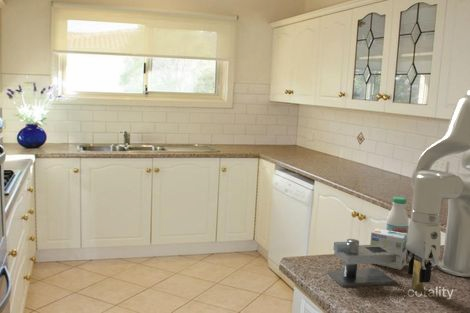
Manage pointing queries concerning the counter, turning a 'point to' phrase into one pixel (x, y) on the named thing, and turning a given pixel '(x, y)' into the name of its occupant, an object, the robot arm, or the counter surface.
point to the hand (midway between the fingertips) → (418, 277)
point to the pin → (417, 274)
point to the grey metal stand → (361, 255)
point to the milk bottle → (398, 216)
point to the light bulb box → (391, 245)
